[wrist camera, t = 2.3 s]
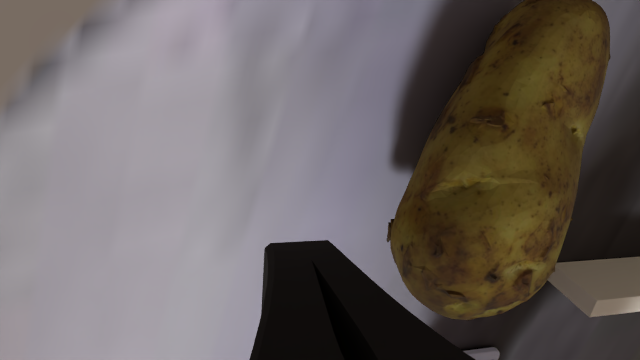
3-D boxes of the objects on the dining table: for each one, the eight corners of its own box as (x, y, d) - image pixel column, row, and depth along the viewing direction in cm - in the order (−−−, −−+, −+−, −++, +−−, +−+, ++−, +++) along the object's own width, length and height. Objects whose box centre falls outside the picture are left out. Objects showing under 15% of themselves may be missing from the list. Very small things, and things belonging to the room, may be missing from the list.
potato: (591, 98, 22) (775, 156, 15) (404, 259, 23) (488, 380, 16) (524, -38, 18) (731, -49, 11) (306, 166, 19) (360, 272, 12)
